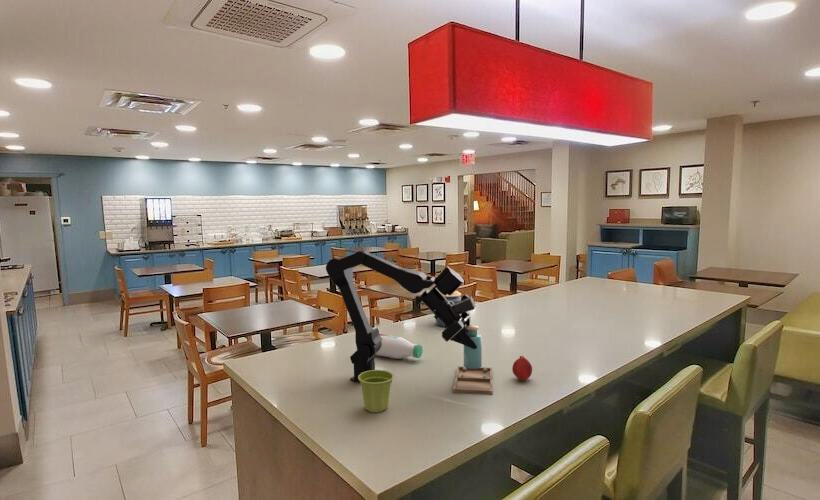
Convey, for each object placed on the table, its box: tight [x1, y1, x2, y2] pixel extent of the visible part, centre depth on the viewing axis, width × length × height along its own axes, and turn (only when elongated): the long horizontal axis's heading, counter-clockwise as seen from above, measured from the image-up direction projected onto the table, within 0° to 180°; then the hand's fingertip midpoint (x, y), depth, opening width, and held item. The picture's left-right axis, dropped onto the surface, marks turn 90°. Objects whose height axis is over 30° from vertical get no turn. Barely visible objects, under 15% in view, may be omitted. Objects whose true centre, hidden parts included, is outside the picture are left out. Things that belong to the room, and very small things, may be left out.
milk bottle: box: [375, 333, 424, 360], centre depth 157 cm, size 8×8×20 cm
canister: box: [434, 290, 462, 328], centre depth 203 cm, size 13×13×18 cm
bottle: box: [463, 324, 483, 369], centre depth 127 cm, size 5×5×12 cm
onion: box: [511, 354, 533, 381], centre depth 133 cm, size 6×6×8 cm
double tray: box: [452, 365, 494, 395], centre depth 133 cm, size 19×11×2 cm, turn 170°
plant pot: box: [358, 369, 395, 413], centre depth 116 cm, size 9×9×9 cm
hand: (477, 345), depth 127 cm, fingers closed on bottle, 5 cm apart
